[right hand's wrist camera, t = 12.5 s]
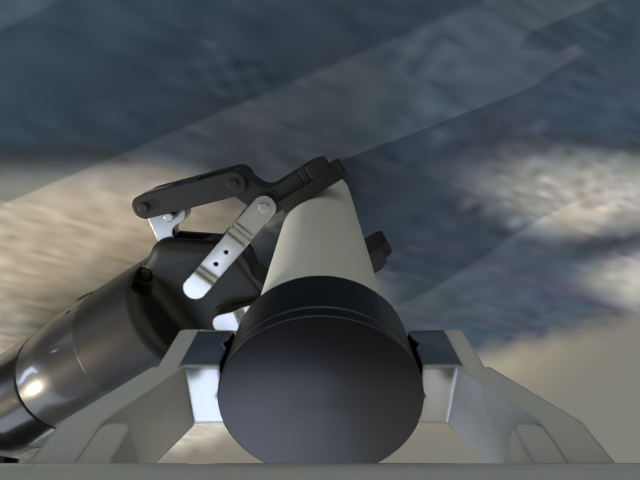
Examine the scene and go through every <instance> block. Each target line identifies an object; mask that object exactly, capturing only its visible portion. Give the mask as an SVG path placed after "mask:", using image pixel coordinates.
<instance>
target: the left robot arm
mask: <svg viewBox="0 0 640 480" xmlns="http://www.w3.org/2000/svg"><path fill="white" fill-rule="evenodd" d="M346 175H347V172H346V169H345V167H344V166H343V164H342V162H341V161H340V159H339V158H338V159H335V160H333V161H332V162H330V163H329V162H328V161H327V159H326V158H325V156H322V157H317V158H314V159H312V160H310V161H309V162H307V163H306V164H304V165H302V166H301V167H299V168H298V169H296V170H294V171H293V172H291V173H290V174H288V175H287V176H285V177H283V178H282V179H280V180H279V181H277V182H273V183H269V182H265V181H263V180H262V179H260V178H259V177H258V176H256V175H255V174H254V173H253V171H252V169H251V168H250V167H249V166H247V165H245V164H239V165H236V166H232V167H228V168H224V169H220V170H217V171H213V172H209V173H205V174H201V175H198V176H194V177H190V178H186V179H182V180H179V181H175V182H171V183H167V184H164V185H160V186H157V187H155V188H153V189H151V190H149V191H147V192H145V193H143V194H142V195H140V196H138V197H136V198H135V199H134V200H133V203H132V208H133V211H134V212H135V214H136V215H137V216H139V217H141V218H144V219H148V220H149V222H150V224H151V227H152V229H153V231H154V233H155V236H156V238H157V240H158V242H157V243H156V244H155V245H154V247H153V249H152V252H151V254H150V256H149V257H147V258H146V259H144V260H143V261H141V262H139V263H138V264H136V265H135V266H133V267H132V268H130V269H128V270H127V271H125V272H124V273H122V274H120V275H119V276H117V277H116V278H114V279H112V280H111V281H109V282H108V283H106V284H105V285H103V286H101V287H100V288H98V289H97V290H95V291H93V292H90V293H88V294H86V295H84V296H82V297H80V298H79V299H77V301H76V302H75V303H74V304H73V305H71V306H70V307H68V308H67V309H65V310H64V311H62V312H61V313H59V314H58V315H56V316H55V317H54V318H53V319H52V320H50V321H49V322H48V323H47V324H46V325H45V326H44V327H43V328H42V329H40V330H39V331H38V332H36V333H34V334H33V335H31V336H29V337H28V338H26V339H25V340H23V341H21V342H20V343H18V344H17V345H15V346H14V347H12V348H10V349H9V350H7V351H6V352H4V353H3V354H1V355H0V463H28V462H29V461H30V460H31V459H32V457H33V456H34V455H35V454H36V452H37V451H38V450H39V449H40V447H41V446H42V445H43V444H44V443H45V441H46V440H47V439H48V438H49V436H50V435H51V434H52V433H53V431H54V430H55V429H56V428H57V427H58V425H59V424H60V423H61V422H62V421H63V420H65V419H66V418H68V417H70V416H72V415H73V414H75V413H77V412H78V411H80V410H82V409H83V408H85V407H87V406H88V405H90V404H92V403H93V402H95V401H97V400H98V399H100V398H102V397H103V396H105V395H107V394H108V393H110V392H112V391H113V390H115V389H117V388H118V387H120V386H122V385H123V384H125V383H127V382H128V381H130V380H132V379H133V378H135V377H137V376H138V375H140V374H142V373H143V372H145V371H147V370H148V369H150V368H152V367H158V366H159V364H160V362H161V361H162V359H163V358H164V356H165V354H166V353H167V351H168V349H169V348H170V346H171V345H172V343H173V341H174V340H175V338H176V336H177V335H178V333H179V332H180V331H182V330H235V332H236V331H237V329H238V326H239V324H240V322H241V319H242V317H243V316H244V314H245V313H246V311H247V310H248V308H249V307H250V306H251V305H252V304H253V302H254V301H255V300H256V299H258V298H259V297H260V296H261V293H262V290H263V287H264V284H265V281H266V277H267V274H268V271H269V269H267V268H266V267H265V266H264V265H263V264H261V263H260V262H259V261H258V259H257V257H256V254H255V251H254V249H253V248H252V246H251V245H250V244H249V243H250V242H251V240H252V239H253V238H254V237H255V235H256V234H257V233H258V232H259V231H260V230H261V229H262V227H263V226H264V225H265V224H266V223H267V222H268V221H269V220H270V218H271V217H272V216H273V215H274V214H276V213H277V212H279V211H281V210H282V209H283V211H284V212H285V213H287V212H289V211H290V210H292V209H293V208H295V207H296V206H298V205H300V204H301V203H303V202H305V201H307V200H308V199H310V198H312V197H313V196H315V195H317V194H318V193H320V192H322V191H323V190H325V189H327V188H328V187H330V186H332V185H333V184H335V183H336V182H338V181H340V180H341V179H343V178H344V177H345V176H346ZM231 197H236V198H238V199H239V200H241V201H242V202H243V203H245V204H246V205H248V206H247V207H246V208H245V209H244V211H243V212H242V213H241V214H240V215H239V216H238V217H237V218H236V220H235V221H234V222H233V223H232V224H231V226H230V227H229V228H228V229H227V230H226V231H225V233H224V234H217V233H203V232H189V231H179V229H178V225H179V223H181V222H182V221H183V220H185V219H186V218H187V217H188V216H189V215H190V212H191V208H192V207H196V206H200V205H203V204H207V203H211V202H215V201H219V200H223V199H227V198H231ZM364 240H365V244H366V247H367V250H368V254H369V257H370V260H371V263H372V267H373V270H374V273H375V272H377V271H379V270H381V268H382V267H383V266H384V265H385V264H386V260H385V258H386V257H387V256H389V255H390V253H391V252H392V249H391V247H390V245H389V243H388V241H387V240H386V238H385V236H384V234H383V233H382V232H381V231H379V232H376V233H374V234H372V235H370V236H368V237H366V238H365V239H364Z"/></svg>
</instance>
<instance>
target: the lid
mask: <svg viewBox="0 0 640 480" xmlns="http://www.w3.org/2000/svg"><path fill="white" fill-rule="evenodd" d="M217 396H218V406H219V410H220V415H221V417H222V420H223V422H224V424H225V426H226V428H227V429H228V431H229V433H230V434H231V436H232V437H233V438H234V439H235V440H236V442H237V443H238V444H239V445H240V446H241V447H242V448H244V449H245V450H246V451H247V452H249V453H250V454H251V455H253V456H254V457H256V458H257V459H259V460H261V461H262V462H264V463H378V462H380V461H382V460H383V459H385V458H387V457H388V456H390V455H391V454H392V453H394V452H395V451H396V450H398V449H399V448H400V447H401V446H402V445H403V444H404V443H405V442H406V441H407V439H408V438H409V437H410V436H411V434H412V433H413V431H414V430H415V428H416V426H417V424H418V422H419V419H420V417H421V414H422V409H423V404H424V387H423V381H422V377H421V374H420V371H419V368H418V366H417V363H416V360H415V357H414V354H413V352H412V349H411V346H410V343H409V341H408V338H407V335H406V332H405V329H404V327H403V324H402V322H401V320H400V318H399V316H398V314H397V313H396V311H395V310H394V309H393V307H392V306H391V305H390V304H389V303H388V302H387V301H386V300H385V299H384V298H383V297H382V296H380V295H379V294H378V293H377V292H375V291H373V290H372V289H370V288H368V287H367V286H365V285H362V284H360V283H358V282H355V281H352V280H349V279H345V278H341V277H335V276H323V275H318V276H306V277H301V278H296V279H293V280H289V281H286V282H284V283H281V284H279V285H277V286H275V287H273V288H271V289H270V290H268V291H267V292H265V293H264V294H262V295H261V296H260V297H259V298H258V299H256V300H255V301H254V302H253V304H252V305H251V306H250V307H249V308H248V310H247V311H246V313H245V314H244V316H243V317H242V319H241V322H240V324H239V326H238V329H237V331H236V334H235V337H234V339H233V342H232V345H231V348H230V350H229V353H228V356H227V358H226V361H225V364H224V366H223V369H222V372H221V375H220V379H219V382H218V391H217Z"/></svg>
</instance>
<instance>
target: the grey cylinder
mask: <svg viewBox="0 0 640 480" xmlns="http://www.w3.org/2000/svg"><path fill="white" fill-rule="evenodd" d="M318 275H323V276H335V277H341V278H345V279H349V280H352V281H355V282H358V283H360V284H362V285H365V286H367V287H368V288H370V289H372V290H373V291H375V292H377V293H378V294H379V295H380V296H381V293H380V290H379V287H378V283H377V280H376V277H375V273H374V270H373V267H372V263H371V260H370V257H369V254H368V250H367V247H366V244H365V240H364V237H363V234H362V231H361V227H360V224H359V221H358V217H357V214H356V211H355V207H354V204H353V201H352V198H351V194H350V191H349V188H348V186H347V184H346V183H345V181H344V180H343V179H341V180H340V181H338V182H336V183H335V184H333V185H332V186H330V187H328V188H327V189H325V190H323V191H322V192H320V193H318V194H317V195H315V196H313V197H312V198H310V199H308V200H307V201H305V202H303V203H301V204H300V205H298V206H296V207H295V208H293V209H292V210H290V211H289V212H287V214H286V217H285V220H284V223H283V226H282V229H281V233H280V236H279V239H278V242H277V245H276V249H275V252H274V255H273V258H272V261H271V265H270V268H269V271H268V274H267V277H266V281H265V284H264V287H263V290H262V293H261V295H262V294H264V293H265V292H267V291H268V290H270V289H271V288H273V287H275V286H277V285H279V284H281V283H284V282H286V281H289V280H293V279H296V278H301V277H306V276H318Z"/></svg>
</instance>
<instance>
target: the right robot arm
mask: <svg viewBox="0 0 640 480" xmlns="http://www.w3.org/2000/svg"><path fill="white" fill-rule="evenodd" d="M235 334H236V332H235V330H182V331H180V332H179V333H178V335H177V336H176V338H175V340H174V341H173V343H172V345H171V346H170V348H169V349H168V351H167V353H166V354H165V356H164V358H163V359H162V361H161V362H160V364H159V366H158V367H152V368H150V369H148V370H147V371H145V372H143V373H142V374H140V375H138V376H137V377H135V378H133V379H132V380H130V381H128V382H127V383H125V384H123V385H122V386H120V387H118V388H117V389H115V390H113V391H112V392H110V393H108V394H107V395H105V396H103V397H102V398H100V399H98V400H97V401H95V402H93V403H92V404H90V405H88V406H87V407H85V408H83V409H82V410H80V411H78V412H77V413H75V414H73V415H72V416H70V417H68V418H66V419H65V420H63V421H62V422H61V423H60V424H59V425H58V427H57V428H56V429H55V430H54V431H53V433H52V434H51V435H50V436H49V438H48V439H47V440H46V441H45V443H44V444H43V445H42V446H41V447H40V449H39V450H38V451H37V452H36V454H35V455H34V456H33V457H32V459H31V460H30V461H29V462H28V463H0V480H640V463H615V462H614V461H613V460H612V459H611V457H610V456H609V455H608V454H607V452H606V451H605V450H604V449H603V447H602V446H601V445H600V444H599V443H598V441H597V440H596V439H595V438H594V436H593V435H592V434H591V433H590V431H589V430H588V429H587V428H586V427H585V425H584V424H583V423H582V422H581V421H579V420H578V419H576V418H574V417H573V416H571V415H569V414H568V413H566V412H564V411H563V410H561V409H559V408H558V407H556V406H554V405H553V404H551V403H549V402H548V401H546V400H544V399H542V398H541V397H539V396H537V395H536V394H534V393H532V392H531V391H529V390H527V389H526V388H524V387H522V386H521V385H519V384H517V383H516V382H514V381H512V380H511V379H509V378H507V377H506V376H504V375H502V374H501V373H499V372H497V371H496V370H494V369H492V368H491V367H484V365H483V364H482V362H481V361H480V359H479V357H478V356H477V354H476V353H475V351H474V350H473V348H472V346H471V345H470V343H469V342H468V340H467V338H466V337H465V335H464V334H463V332H462V331H461V330H459V329H455V330H431V331H406V335H407V338H408V341H409V343H410V346H411V349H412V352H413V354H414V357H415V360H416V363H417V366H418V368H419V371H420V374H421V377H422V381H423V387H424V404H423V409H422V414H421V417H420V419H419V422H418V423H449V424H448V425H449V426H450V427H451V428H452V429H453V430H454V431H455V432H456V433H457V434H458V435H459V436H460V437H461V438H462V439H463V440H464V441H465V442H466V443H467V444H468V445H469V446H470V447H471V448H472V449H473V450H474V451H475V452H476V453H477V454H478V455H479V456H480V457H481V458H482V459H483V460H484V461H485V462H486V463H157V462H158V461H159V460H160V459H161V458H162V457H163V456H164V455H165V454H166V453H167V452H168V451H169V450H170V449H171V448H172V447H173V446H174V445H175V444H176V443H177V442H178V441H179V440H180V439H181V438H182V437H183V436H184V435H185V434H186V433H187V432H188V431H189V429H190V428H191V427H192V426H193V425H194V424H193V423H224V422H223V420H222V417H221V415H220V410H219V406H218V396H217V391H218V382H219V379H220V375H221V372H222V369H223V366H224V364H225V361H226V358H227V356H228V353H229V350H230V348H231V345H232V342H233V339H234V337H235Z"/></svg>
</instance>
